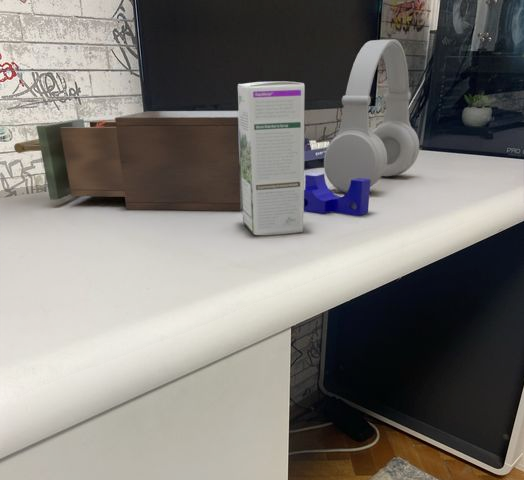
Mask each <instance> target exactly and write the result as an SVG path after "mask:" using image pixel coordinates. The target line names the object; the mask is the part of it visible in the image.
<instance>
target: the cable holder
mask: <svg viewBox="0 0 524 480" xmlns="http://www.w3.org/2000/svg"><path fill="white" fill-rule="evenodd" d="M370 181H371V179H366V178H357V179H353V180H351V184H350V187H349V190H348V191H347V193H344V195H343V196H339V195H337V194H335V193H333V192H332V190H330V188H329V187H328V185H327V183H326V179H325V173H320V172H319V173H318V172H312V173H308V174H304V211H305V212H311V213H317V214H324V215H325V214H329V213H331V212H332V213H338V214H344V215H351V216H358V217H361V216H364V215H366V214H368V213H369V206H370V205H369V204H370V193H371V187H370Z"/></svg>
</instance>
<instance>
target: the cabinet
mask: <svg viewBox="0 0 524 480" xmlns="http://www.w3.org/2000/svg"><path fill="white" fill-rule="evenodd" d="M114 120H115V121H114V122H116V130H117V138H118V146H119V154H120V162H121V170H122V177H123V185H124V193H125V197H124V199H125V209H126V210H141V211H142V210H144V211H145V210H146V211H151V210H152V211H216V212H217V211H218V212H219V211H220V212H222V211H224V212H241V211H242V210H243V207H242V184H241V157H240V135H239V110H170V111H169V110H159V111H158V110H155V111H154V110H151V111H149V110H146V111H142V112H137V113H131V114H127V115H126V114H125V115H121V116H116V117H114Z"/></svg>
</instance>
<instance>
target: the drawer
mask: <svg viewBox="0 0 524 480" xmlns="http://www.w3.org/2000/svg"><path fill="white" fill-rule="evenodd" d="M97 123H98V121H89V126H85V120H84V118H80V119H79V118H77V119H70V120H64V121H58V122H57V121H56V122H52V123H47V124H40V125H36V132H37V136H38V138H35V139H30V140H26V141H20V142H16V143H14V146H13V149H14V151H15V152H16V153H18V154H23V153H26V152H30V151H40V153H41V154H40V155H41V159H42V164H43V168H44V169H43V170H44V174H45V180H46V186H47V190H48V195H49V200H50V201H59V200H62V199H64V198H66V197H68V196H70V195H71V197H106V198H107V197H118V198H120V197H121V198H123V197H124V198H125V193H124V185H123V177H122V170H121V162H120V154H119V146H118V138H117V130H116V122H115V121H105V123H106V127H95V126H96V125H97Z"/></svg>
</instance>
